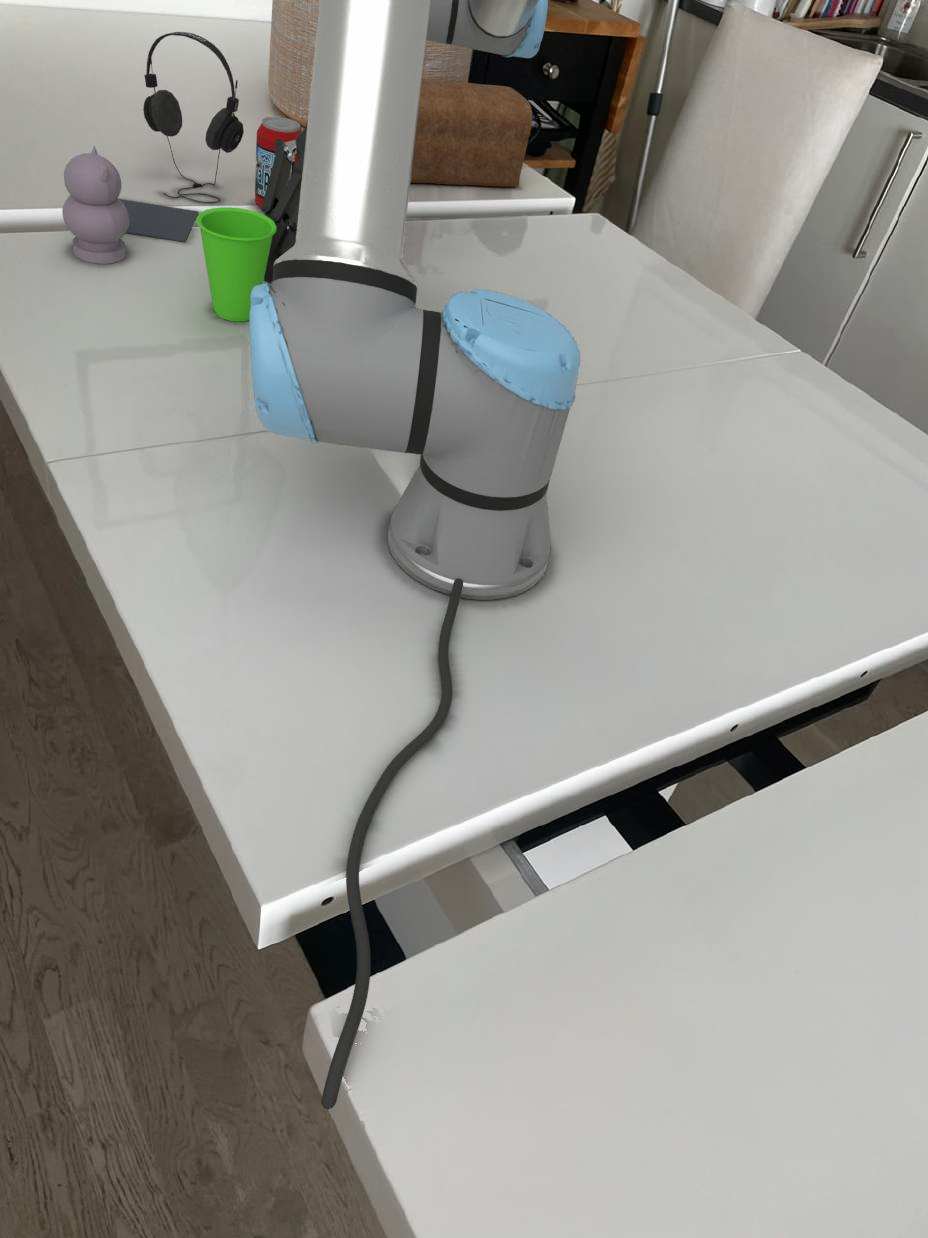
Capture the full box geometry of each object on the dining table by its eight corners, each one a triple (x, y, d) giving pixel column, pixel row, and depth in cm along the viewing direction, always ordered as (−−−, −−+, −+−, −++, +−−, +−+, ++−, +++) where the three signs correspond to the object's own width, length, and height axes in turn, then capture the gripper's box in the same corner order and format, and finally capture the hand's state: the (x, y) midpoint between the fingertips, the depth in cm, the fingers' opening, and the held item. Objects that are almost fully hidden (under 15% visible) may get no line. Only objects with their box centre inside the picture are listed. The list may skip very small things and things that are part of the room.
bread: (521, 190, 172) (539, 102, 163) (333, 181, 160) (341, 85, 150) (491, 161, 182) (506, 76, 172) (311, 150, 169) (317, 59, 159)
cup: (188, 297, 121) (186, 206, 114) (259, 294, 125) (262, 206, 118) (208, 331, 115) (208, 238, 108) (282, 327, 119) (287, 237, 112)
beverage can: (245, 206, 146) (247, 119, 138) (272, 196, 150) (275, 111, 143) (282, 220, 144) (287, 133, 136) (309, 210, 149) (314, 125, 141)
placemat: (185, 241, 133) (185, 240, 133) (100, 229, 131) (100, 227, 131) (198, 212, 141) (198, 211, 141) (119, 200, 139) (119, 198, 139)
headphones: (119, 181, 144) (110, 27, 131) (161, 163, 153) (156, 16, 140) (211, 210, 142) (211, 56, 129) (248, 189, 151) (252, 43, 138)
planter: (468, 113, 203) (498, -75, 181) (448, 167, 175) (481, -48, 154) (293, 75, 201) (303, -119, 180) (244, 123, 174) (249, -100, 152)
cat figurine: (59, 239, 127) (49, 141, 119) (122, 238, 130) (116, 142, 122) (73, 268, 121) (64, 167, 114) (138, 265, 125) (134, 168, 117)
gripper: (400, 144, 125) (315, 308, 124) (314, 113, 128) (231, 273, 127) (383, 106, 117) (293, 280, 117) (293, 74, 121) (204, 243, 120)
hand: (261, 276), depth 122 cm, fingers closed
